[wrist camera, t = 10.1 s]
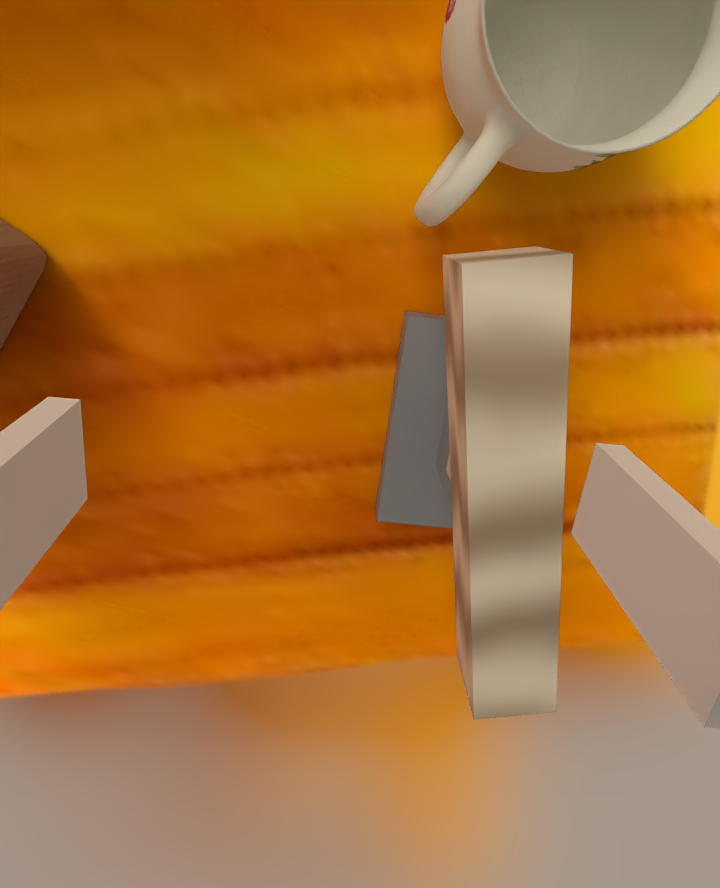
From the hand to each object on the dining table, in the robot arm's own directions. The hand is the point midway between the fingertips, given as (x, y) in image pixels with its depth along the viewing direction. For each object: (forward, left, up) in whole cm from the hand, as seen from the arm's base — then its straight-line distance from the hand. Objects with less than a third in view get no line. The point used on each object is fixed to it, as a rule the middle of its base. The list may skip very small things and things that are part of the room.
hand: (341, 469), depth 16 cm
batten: (+6, +9, -16) cm, 20 cm away
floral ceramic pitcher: (-14, +8, -25) cm, 29 cm away
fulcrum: (+6, +9, -25) cm, 27 cm away
